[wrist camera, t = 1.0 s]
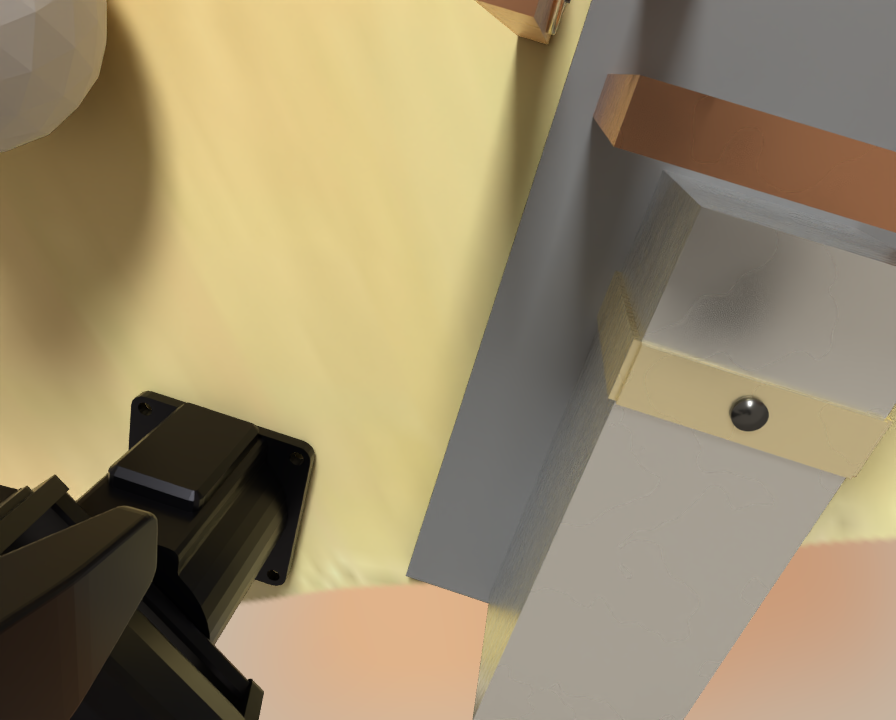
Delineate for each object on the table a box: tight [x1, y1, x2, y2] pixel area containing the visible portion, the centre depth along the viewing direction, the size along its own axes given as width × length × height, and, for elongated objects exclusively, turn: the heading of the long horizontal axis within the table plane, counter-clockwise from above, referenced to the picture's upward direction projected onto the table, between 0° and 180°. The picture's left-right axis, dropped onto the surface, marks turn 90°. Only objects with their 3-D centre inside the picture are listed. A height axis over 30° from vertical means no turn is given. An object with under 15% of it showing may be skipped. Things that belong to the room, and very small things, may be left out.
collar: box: [593, 74, 896, 233], centre depth 12 cm, size 1×9×7 cm, turn 74°
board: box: [406, 0, 896, 603], centre depth 18 cm, size 22×11×1 cm, turn 164°
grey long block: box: [473, 170, 896, 720], centre depth 17 cm, size 15×5×5 cm, turn 164°
